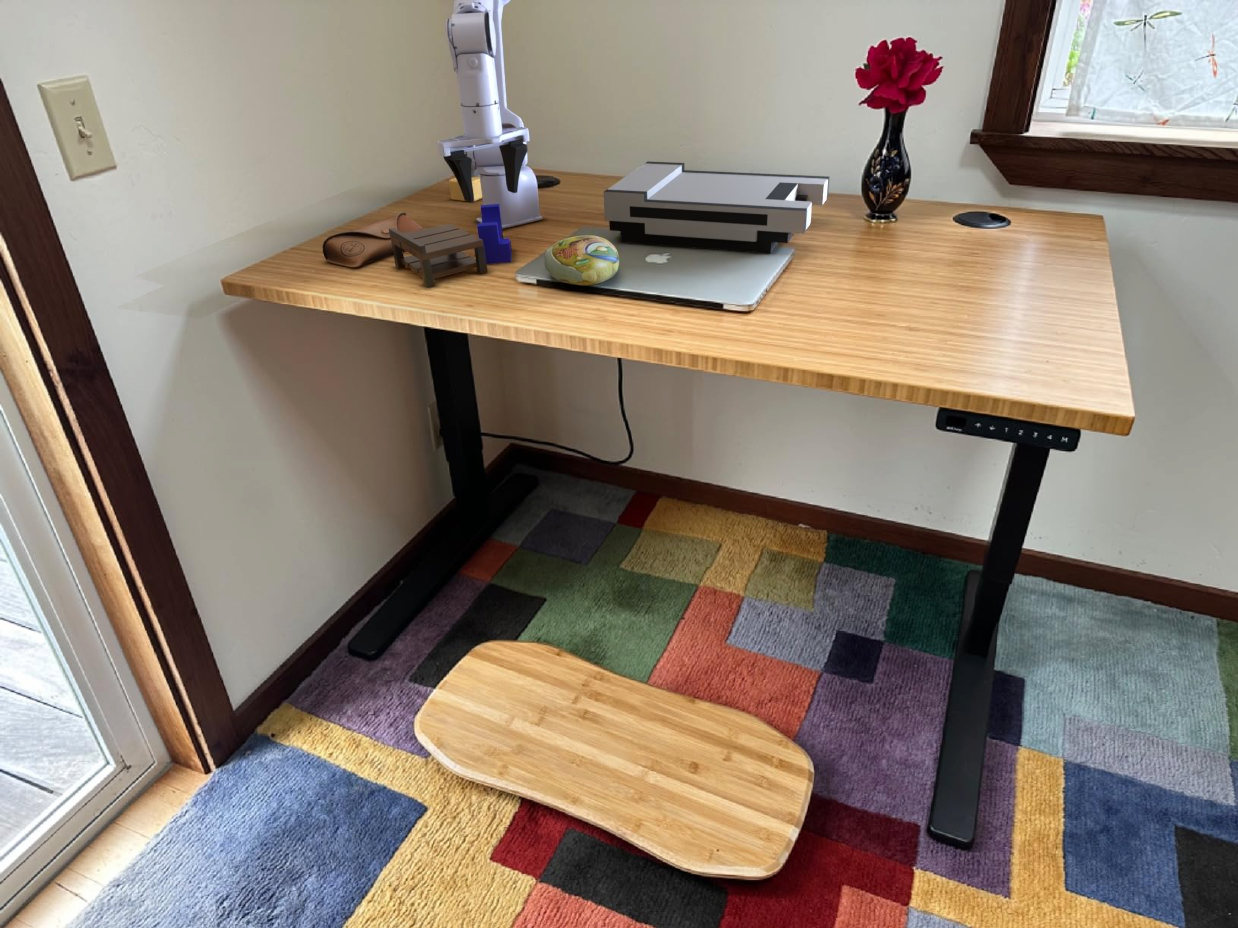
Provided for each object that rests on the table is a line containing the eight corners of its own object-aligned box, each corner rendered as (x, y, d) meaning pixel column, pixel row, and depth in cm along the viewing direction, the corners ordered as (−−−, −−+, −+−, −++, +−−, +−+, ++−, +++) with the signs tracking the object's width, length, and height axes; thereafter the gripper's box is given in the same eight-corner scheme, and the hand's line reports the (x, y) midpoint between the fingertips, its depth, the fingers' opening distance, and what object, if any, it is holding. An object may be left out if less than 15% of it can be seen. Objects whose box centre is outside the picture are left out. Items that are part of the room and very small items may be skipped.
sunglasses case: (358, 266, 135) (335, 227, 134) (338, 282, 140) (316, 245, 139) (440, 235, 147) (421, 199, 146) (419, 251, 152) (400, 216, 151)
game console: (802, 257, 131) (805, 202, 126) (606, 242, 141) (603, 191, 137) (826, 218, 147) (830, 169, 143) (648, 208, 158) (647, 161, 153)
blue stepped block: (511, 262, 135) (506, 224, 132) (482, 264, 135) (477, 226, 132) (512, 239, 145) (508, 203, 142) (485, 241, 145) (481, 205, 142)
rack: (453, 253, 140) (447, 215, 137) (487, 272, 132) (482, 232, 128) (395, 267, 136) (388, 228, 132) (427, 288, 127) (420, 246, 124)
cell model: (620, 242, 133) (625, 233, 118) (612, 292, 135) (615, 290, 120) (551, 230, 133) (546, 220, 118) (543, 281, 134) (538, 277, 119)
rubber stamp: (473, 202, 167) (464, 137, 160) (450, 199, 169) (440, 135, 163) (504, 189, 174) (497, 126, 168) (481, 187, 177) (473, 125, 170)
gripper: (446, 114, 122) (460, 210, 129) (535, 100, 129) (543, 192, 136) (426, 108, 127) (440, 201, 134) (512, 95, 134) (522, 184, 141)
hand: (491, 196), depth 136 cm, fingers open, 7 cm apart
